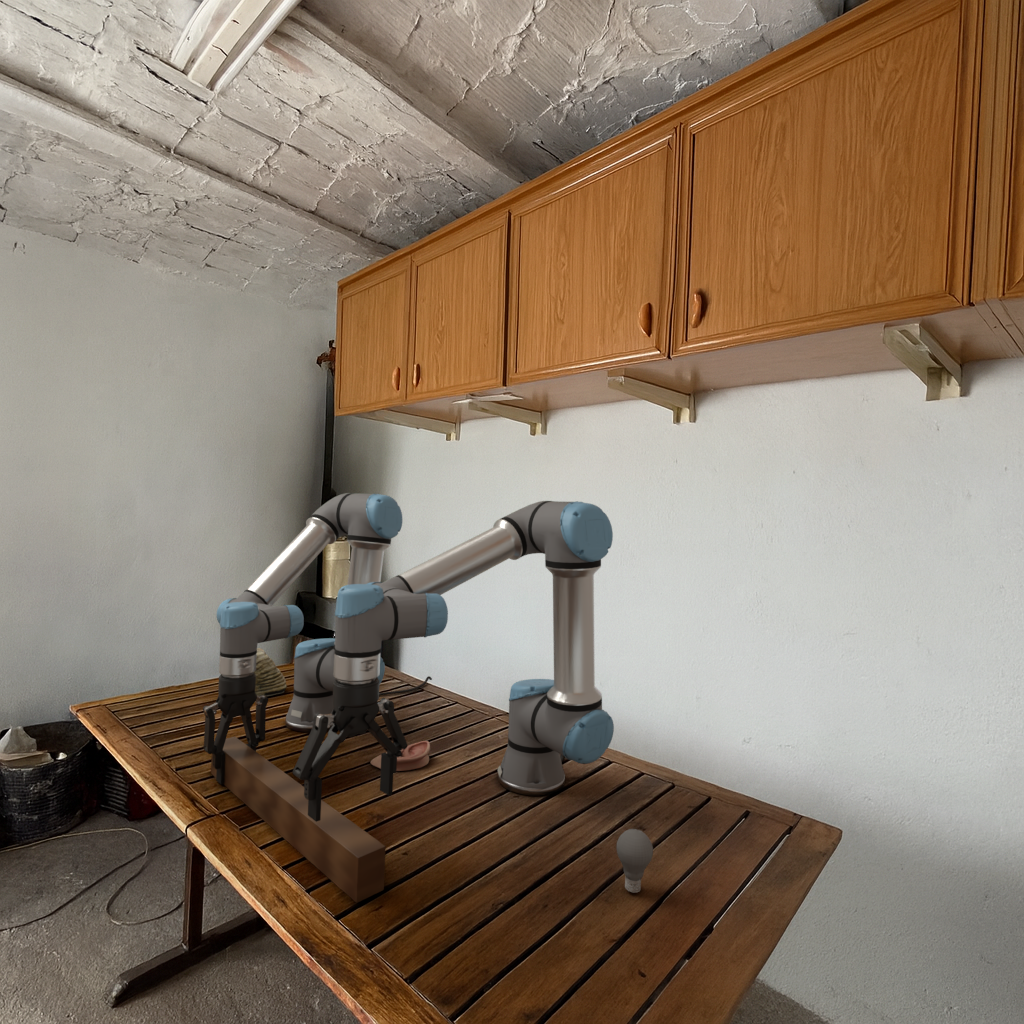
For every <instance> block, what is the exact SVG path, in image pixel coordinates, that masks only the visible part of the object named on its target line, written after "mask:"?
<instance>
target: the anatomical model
mask: <svg viewBox="0 0 1024 1024" xmlns="http://www.w3.org/2000/svg"><path fill="white" fill-rule="evenodd" d="M430 751H431V743H430V742H429V741H428V740H423V741H417V742H415V743H412V744H407V748H406V749H404V750H403V749H402V750H401V756H400V757H397V769H396V772H400V771H401V772H402V771H411V770H415V769H421V768H423V767H425V766H427V765H428V764H429V761H430V757H429V755H428V754H429V753H430ZM385 753H387V751H385ZM370 764H371V765H372V766H373V767H375V768H378V769H380V770H381V754H380V755H377V756H376V757H374V758H373V759H371V761H370Z"/></svg>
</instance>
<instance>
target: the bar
mask: <svg viewBox="0 0 1024 1024" xmlns="http://www.w3.org/2000/svg"><path fill="white" fill-rule="evenodd" d="M246 744H247V743H245V742H243V741H242V740H240V739H239V738H238V737H236V736H231V737H226V740H225V744H224V747H223V750H222V752H224V753H225V754H226V755H225V783H224V784H222V785H223V786H224V787H225V788H226V789H228V790H229V792H231V793H232V794H233V795H235V796H236V797H237V799H239V800H240V801H241V802H242V803H244V805H246V807H248V809H250V810H251V811H252V812H253V813H255V814H256V815H257V816H258V817H259V818H260V819H262V821H264V822H265V823H266V824H267V825H268V826H269V827H271V828H272V829H273V830H274V831H275V832H276V833H277V834H279V836H281V838H283V839H284V840H285V841H286V842H287V843H288V844H289V845H291V846H292V847H293V849H295V850H296V851H297V852H299V854H300V855H302V856H303V857H304V858H305V859H306V860H308V861H309V862H310V863H311V864H312V865H313V866H314V867H315V868H316V869H317V870H319V871H320V872H321V873H322V874H323V875H324V876H325V877H327V879H329V880H330V881H331V882H332V883H333V884H335V885H336V886H337V887H338V888H339V889H340V890H341V891H342V892H344V894H346V896H348V897H349V898H350V899H351V900H352V901H354V902H355V903H356V904H358V903H360V902H362V901H364V900H366V899H368V898H370V897H373V896H374V895H376V894H378V893H380V892H382V891H384V890H385V869H386V868H385V867H386V849H387V848H386V845H385V844H383V843H382V842H381V841H379V840H378V839H377V838H375V837H373V836H372V835H370V833H368V832H367V831H365V830H364V829H362V828H361V827H360V826H359V825H357V824H356V823H355V822H353V821H351V819H348V818H347V817H346V816H345V815H343V814H342V813H341V812H339V811H338V810H337V809H335V808H334V807H333V806H331V805H330V804H328V803H327V802H326V801H324V800H323V799H321V819H320V821H317V822H316V821H314V820H313V819H312V818H311V817H309V816H308V800H307V799H306V798H305V796H304V785H302V784H301V783H300V782H298V781H297V780H295V779H294V778H292V776H290V775H289V774H287V773H286V772H284V771H283V770H282V769H280V768H279V767H278V766H276V765H275V764H273V763H272V762H271V761H269V760H268V759H267V758H266V757H264V756H262V755H261V754H260V753H258V752H257V751H256V752H255V751H254V750H253V749H251V748H250V747H249V746H247V745H246ZM210 763H211V765H210V775H212V776H213V777H214V778H215V779H216V772H217V769H215V768H214V767H213V754H211V761H210Z"/></svg>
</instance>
